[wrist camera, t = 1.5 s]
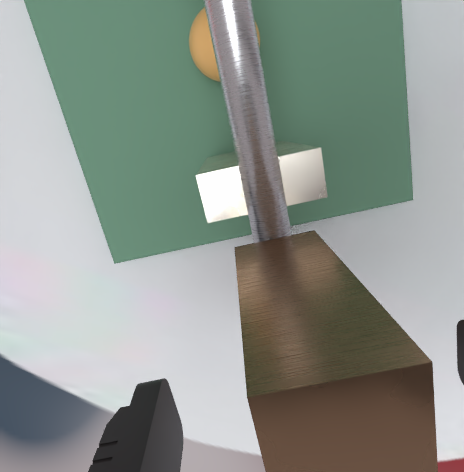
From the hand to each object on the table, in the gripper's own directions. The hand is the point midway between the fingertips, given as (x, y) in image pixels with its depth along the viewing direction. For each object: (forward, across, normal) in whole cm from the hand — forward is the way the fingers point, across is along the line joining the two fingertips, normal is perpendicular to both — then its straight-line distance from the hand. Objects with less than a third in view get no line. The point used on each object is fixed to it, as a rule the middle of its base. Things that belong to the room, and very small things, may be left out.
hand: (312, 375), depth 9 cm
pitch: (+17, 0, -11) cm, 20 cm away
